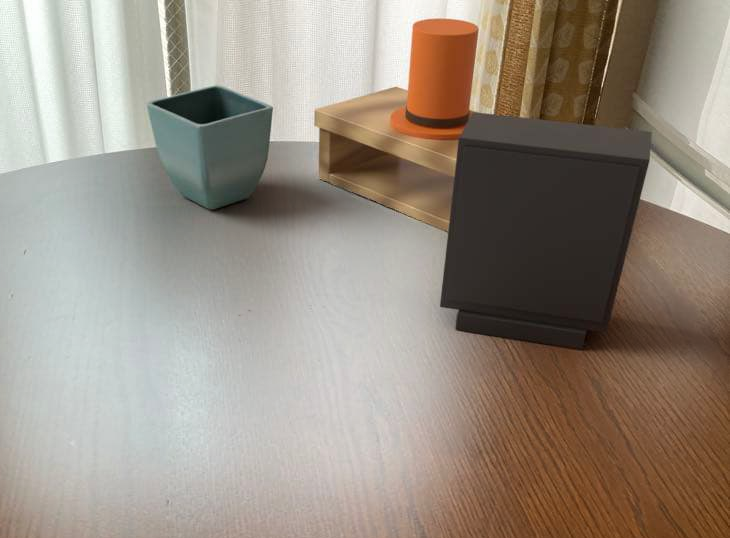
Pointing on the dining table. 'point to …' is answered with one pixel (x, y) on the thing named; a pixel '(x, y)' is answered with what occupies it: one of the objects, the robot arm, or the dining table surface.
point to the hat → (439, 80)
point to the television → (540, 226)
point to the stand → (386, 157)
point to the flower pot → (212, 143)
